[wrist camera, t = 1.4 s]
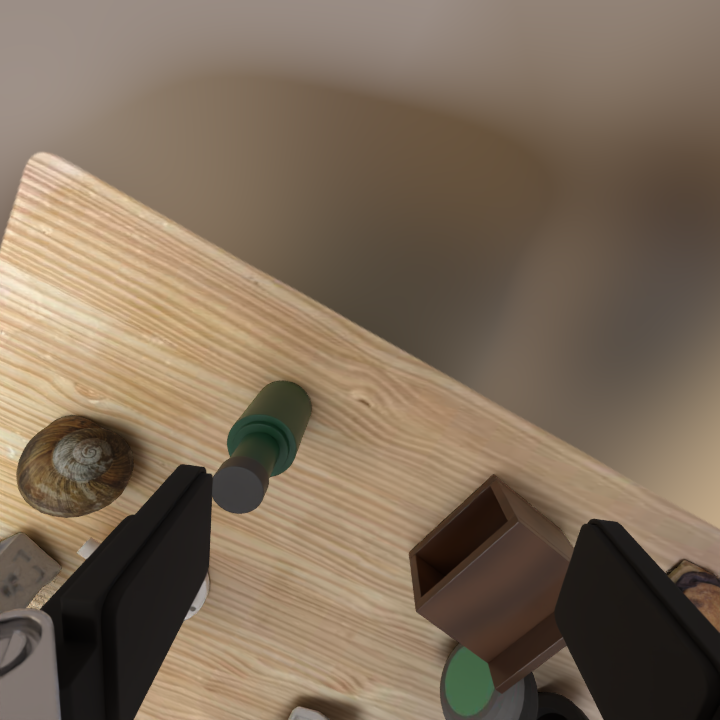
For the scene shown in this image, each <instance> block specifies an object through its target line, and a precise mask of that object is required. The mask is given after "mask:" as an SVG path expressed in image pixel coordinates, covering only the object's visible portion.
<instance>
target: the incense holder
mask: <svg viewBox="0 0 720 720" xmlns="http://www.w3.org/2000/svg"><path fill="white" fill-rule="evenodd" d="M60 570H61V566H60V565H59V564H58V563H57V562H56V561H55V560H54V559H52V558H51V557H50V556H49V555H47V554H46V553H45V552H44V551H43V550H42V549H41V548H39V546H38V545H37V544H35V543H34V541H32V540H31V539H30V538H29V537H28V536H27V535H26V534H24V533H18V534H16V535H13V536H11V537H9V538H7V539H5V540H3V541H1V542H0V613H1V612H5V611H9V610H13V609H21V608H26V607H27V606H28V605H29V603H30V602H31V601H32V599H33V598H34V597H35V596H36V594H37V593H38V591H39V590H40V589H41V588H42V587H43V586H44V585H46V584H48V583H50V582H51V581H52V580H53V579H54V578H55V577H56V575H57V574H58V573H59V572H60Z"/></svg>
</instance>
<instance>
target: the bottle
mask: <svg viewBox="0 0 720 720" xmlns="http://www.w3.org/2000/svg"><path fill="white" fill-rule="evenodd" d="M311 411H312V405H311V401H310V398H309V396H308V395H307V393H306V392H305V391H304V390H303V389H302V388H301V387H300V386H298V385H297V384H295V383H292V382H288V381H276V382H272V383H270V384H268V385H267V386H265V387H264V388H263V389H262V390H261V391H260V393H259V394H258V395H257V396H256V398H255V399H254V400H253V401H252V403H251V404H250V405H249V406H248V408H247V409H246V410H245V411H244V413H243V414H242V415H241V417H240V418H239V419H238V420H237V422H236V423H235V424H234V425H233V427H232V428H231V430H230V432H229V435H228V439H227V447H228V452H229V455H230V458H229V459H228V460H226V461H225V462H224V463H223V464H222V465H221V466H220V468H219V469H218V471H217V472H216V474H215V475H214V476H213V483H212V497H213V499H214V501H215V502H216V503H217V504H218V505H219V506H220V507H221V508H223V509H224V510H226V511H228V512H231V513H237V514H242V513H248V512H250V511H252V510H254V509H256V508H257V507H258V506H259V505H260V503H261V502H262V500H263V498H264V495H265V493H266V491H267V488H268V485H269V478H270V477H272V476H276V475H279V474H281V473H283V472H284V471H285V470H287V469H288V468H289V467H290V466H291V464H292V463H293V461H294V459H295V456H296V453H297V451H298V448H299V445H300V443H301V440H302V437H303V435H304V432H305V429H306V427H307V424H308V421H309V419H310V416H311Z"/></svg>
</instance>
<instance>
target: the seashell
mask: <svg viewBox="0 0 720 720" xmlns="http://www.w3.org/2000/svg"><path fill="white" fill-rule="evenodd" d="M132 471H133V455H132V451H131V449H130V447H129V445H128V444H127V443H126V441H125V440H124V439H123V438H121V437H120V436H119V435H118V434H116V433H114V432H112V431H110V430H106V429H102V428H101V427H100V426H98V425H97V424H96V423H94V422H92V421H90V420H87V419H85V418H82V417H78V416H65V417H61V418H59V419H57V420H55V421H54V422H52V423H51V424H50V425H49V426H48V427H46V428H44V429H43V430H41V431H40V432H39V433H37V434H36V436H34V437H33V438H32V439H31V440H30V441H29V443H28V444H27V446H26V447H25V449H24V451H23V453H22V455H21V457H20V459H19V463H18V468H17V485H18V489H19V491H20V493H21V495H22V496H23V498H24V500H25V501H26V502H27V503H28V504H29V505H31V506H32V507H33V508H35V509H37V510H38V511H40V512H41V513H44V514H48V515H52V516H57V517H65V518H68V517H79V516H83V515H87V514H90V513H93V512H95V511H98V510H100V509H102V508H104V507H106V506H108V505H109V504H111V503H112V502H113V501H114V500H116V499H117V498H118V497H119V496H120V495H121V494H122V492H123V491H124V489H125V487H126V486H127V484H128V482H129V480H130V477H131V475H132Z"/></svg>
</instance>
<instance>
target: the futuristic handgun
mask: <svg viewBox="0 0 720 720" xmlns="http://www.w3.org/2000/svg"><path fill="white" fill-rule="evenodd" d="M288 720H330V719H329V718H327V717H326V716H325V715H324V714H322V713H321V712H320V711H316V710H312V709H308V708H305V707H301V706H298V707H296V708H295V709H294V710H293V711H292V713H291V715H290V717H289V719H288Z"/></svg>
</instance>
